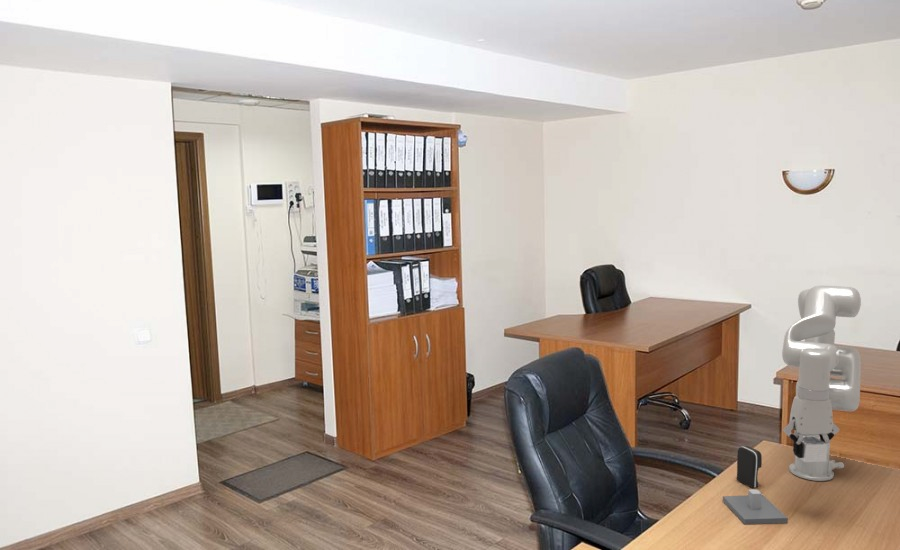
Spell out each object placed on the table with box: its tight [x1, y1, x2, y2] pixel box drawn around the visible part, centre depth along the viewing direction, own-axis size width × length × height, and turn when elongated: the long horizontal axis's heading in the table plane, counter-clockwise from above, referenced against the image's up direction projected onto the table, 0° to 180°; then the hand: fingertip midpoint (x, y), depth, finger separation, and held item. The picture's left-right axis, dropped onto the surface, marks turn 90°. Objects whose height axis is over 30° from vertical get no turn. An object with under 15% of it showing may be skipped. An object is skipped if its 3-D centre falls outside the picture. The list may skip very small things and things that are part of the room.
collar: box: [792, 436, 827, 462], centre depth 191 cm, size 6×6×5 cm
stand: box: [722, 489, 789, 525], centre depth 194 cm, size 12×14×6 cm
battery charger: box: [736, 445, 763, 488], centre depth 212 cm, size 7×4×11 cm, turn 23°
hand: (809, 455), depth 191 cm, fingers closed on collar, 5 cm apart
